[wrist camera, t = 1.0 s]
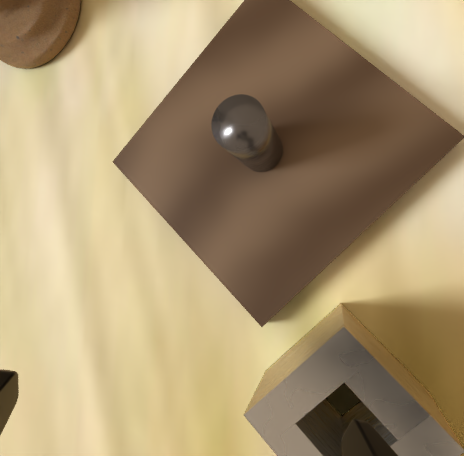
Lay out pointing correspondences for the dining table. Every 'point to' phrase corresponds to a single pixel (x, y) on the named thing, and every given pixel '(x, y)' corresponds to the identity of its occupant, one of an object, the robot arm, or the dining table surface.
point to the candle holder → (35, 30)
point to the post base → (320, 160)
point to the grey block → (359, 381)
